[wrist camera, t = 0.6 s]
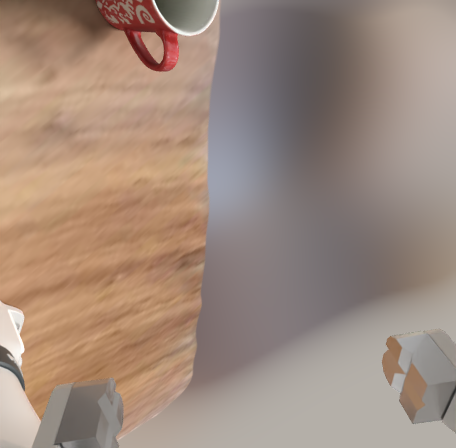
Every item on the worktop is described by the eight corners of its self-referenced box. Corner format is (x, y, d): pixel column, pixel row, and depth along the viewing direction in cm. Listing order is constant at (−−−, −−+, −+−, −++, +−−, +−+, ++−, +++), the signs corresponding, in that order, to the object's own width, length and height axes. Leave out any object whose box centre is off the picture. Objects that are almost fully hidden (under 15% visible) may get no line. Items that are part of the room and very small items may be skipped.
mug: (84, -65, 37) (150, -96, 28) (154, -33, 43) (226, -51, 35) (84, 60, 41) (141, 65, 33) (147, 72, 48) (210, 79, 39)
